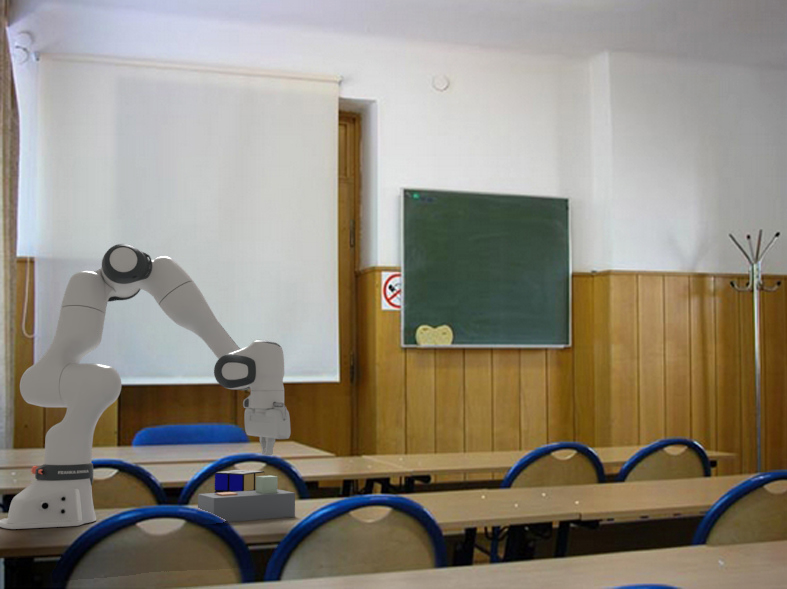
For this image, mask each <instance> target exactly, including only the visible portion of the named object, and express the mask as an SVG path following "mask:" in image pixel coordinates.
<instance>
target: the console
mask: <svg viewBox="0 0 787 589" xmlns="http://www.w3.org/2000/svg"><path fill="white" fill-rule="evenodd" d="M234 493H238V495H232V496H218V495H216V493H215V492H211V493H210V492H207V493H198V494H197V509H198V508H200V509H202V510H205V511H208V512H211V513H213V514H215V515H217V516H219V517H221V518H223V519H225V520H226V521H228V522H227V523H230V522H232V523H233V522H243V521H244V522H245V521H256V520H257V521H258V520H269V519H270V520H271V519H281V518H291V517H293V518H294V517H296V492H294V491H293V492H292V491H287V490H284V489H277V493H263V494H261V493H257V492H256V490H254V491H238V492H234Z"/></svg>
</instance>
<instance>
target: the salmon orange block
mask: <svg viewBox="0 0 787 589" xmlns="http://www.w3.org/2000/svg"><path fill="white" fill-rule="evenodd" d="M216 495H218V496H232V495H238V493H234V492H222V493H216Z"/></svg>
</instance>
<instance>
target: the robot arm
mask: <svg viewBox="0 0 787 589" xmlns="http://www.w3.org/2000/svg"><path fill="white" fill-rule="evenodd" d="M141 290H143V291H145V292H146V293H148V294H150V295H151V297H153V298H154V300H155V302H156V303H157V305H158V306H159V308H160V309H161V310H162V311H163V312H164V313H165V314H166V316H168V318H170V319H171V321H173V322H174V323H175V324H176V325H178V326H179V327H182V328H184V329H186V330H188V331H190V332H192V333H194V334H195V335H197V336H198V337H199V338H200V339H202V341H203V342H204V343H205V344H206V345H207V347H208V348H209V349H210V351H211V352H212V353H213V354H214V355H215V356H216V358H217V360H216V362H215V364H214V368H213V374H214V378H215V381H216V382H217V383H218V385H219V386H221V387H223V388H224V389H229V390H238V391H248V390H250V394H249V395H248V396H247V397H246V398H245V399H243V402H242V406H243V408H244V409H245V410H244V431H245V434H246V436H251V437H259V444H260V447H261V454H262V455H265V456H272V455H273V454H274V446H275V443H276V440H287V439H290V436H291V433H292V432H291V419H290V412H289V410H288V409H287V406H286V405H285V387H284V376H285V358H284V350H283V348H282V346H281V345H280V344H279V343H277V342H275V341H270V340H264V339H256V340H253V341H252V342H251V343H249V344H248V345H247V346H244V347H243V348H240V347H239V346H238V344H237V343H236V342H235V341H234V340H233V339H232V337H231V336H230V334H229V333H228V331H226V329H225V328H224V327H223V326H222V325H221V323H220V322H219V321H218V319H217V318H216V316H215V314H214V312H213V311H212V309H211V307H210V305H209V304H208V302H207V300H206V298H205V296H204V295H203V293H202V291H201V290H200V288H199V287H198V285H197V284H196V283H195V281H194V280H193V279H192V277H191V276H190V275H189V274H188V273H187V272H186V270H184V269H183V267H182V266H181V265H180V264H179V263H178V262H177V261H175V260H174V259H173V258H171V257H170V256H167V255H164V256H162V255H161V256H158V257H155V258H154V259H152V257H151V256H150V255H149V254H148V253H146V252H143V251H141V250H140V249H138V248H137V247H135V246H133V245H130V244H128V243H118V244H115V245H113V246H111V247H110V248H109V249H108V250H107V251H106V252H105V254H104V255H103V257H102V260H101V267H100V269H98V270H95V271H94V270H93V271H91V270H81V271H78V272H75V273H73V275H71V277H70V278H69V281H68V283H67V285H66V288H65V291H64V294H63V298H62V301H61V306H60V310H59V311H60V312H59V316H58V322H57V326H56V330H55V335H54V337H53V339H52V342H51V344H50V345H49V347H48V349H47V350H46V351H45V353H44V355H42V357H41V358H39V360H38V361H37V362H35V363H34V364H32V365H31V366H30V367H28V368H27V369H26V370H25V371H24V373H23V374H22V376H21V378H20V382H19V391H20V395H21V397H22V399H23V400H24V402H26V403H27V404H29V405H34V406H37V407H41V408H66V412H65V415H64V417H63V419H62V420H61V421H59V422H58V423H56V424H54V425H52V426H51V427H50V428H49V429H48V431H47V432H46V433H45V439H44V440H45V444H44V464H42V465H40V466H37V465H33V466H32V467H31V468H30V473H31V474H33V475H35V476H34V478H35V480H34V481H33V482H32V483H30V484H29V485H28V486H26V487H24V489H23V490H21V491H20V492H19V493H17V494H15V496H13V498H12V500H11V502H10V505H9V510H8V515H7V518H1V519H0V528H1V529H2V528H3V529H7V530H8V529H10V530H16V529H17V530H20V529H39V528H57V527H58V528H60V527H78V526H81V525H84V524H88V523H93V522H95V521H97V516H96V512H95V507H94V500H93V491H92V489H93V488H92V486H93V484H94V483H93V482H94V463H92V455H93V454H92V453H93V441H94V434H95V429H96V426H97V423H98V421H99V419H100V418H101V416H102V415H103V413H104V412H105V411H106V410H107V409H108V408H109V407H110V406H112V404H114V403H115V402H116V401H117V400H118V398H119V396H120V394H121V391H122V380H121V376H120V374H119V372H118V371H117V369H116V368H115V367H114V366H113V367H112V366H111V365H105V364H101V363H80V362H81V360H82V359H83V358H84V357H85V356H86V355H88V354H89V353H92V351H95V350H96V349H97V348H98V347H99V346H100V344H101V342H102V337H103V331H104V324H105V320H106V314H107V313H106V312H107V305H108V302H114V301H115V302H116V301H127V300H131V299H133V298H135V297H136V296H137V295H138V294H139V293H140V292H141Z"/></svg>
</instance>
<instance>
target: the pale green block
mask: <svg viewBox="0 0 787 589" xmlns="http://www.w3.org/2000/svg"><path fill="white" fill-rule="evenodd" d="M278 477H279V476H277V475H276V476H275V475H265V476H256V492H257V493H261V494H263V493H277V489H278V485H279V484H278V481H279V480H278V479H279V478H278Z"/></svg>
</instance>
